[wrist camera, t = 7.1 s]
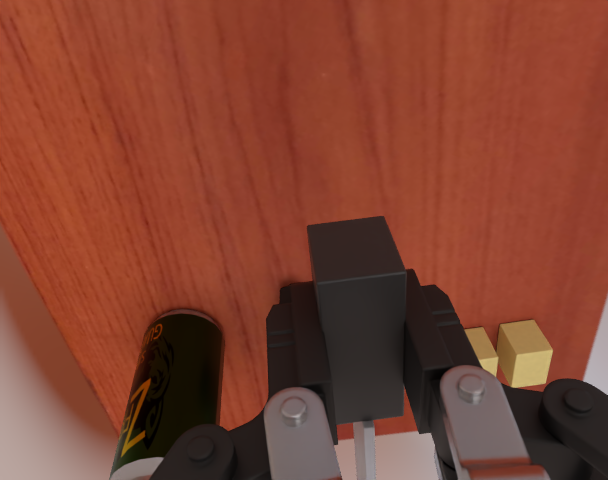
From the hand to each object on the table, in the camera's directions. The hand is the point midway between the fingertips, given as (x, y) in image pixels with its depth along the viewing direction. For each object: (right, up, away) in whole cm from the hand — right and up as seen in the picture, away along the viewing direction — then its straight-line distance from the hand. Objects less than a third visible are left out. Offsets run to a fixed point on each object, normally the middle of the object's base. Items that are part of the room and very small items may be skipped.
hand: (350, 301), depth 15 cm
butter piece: (+14, -6, +24) cm, 29 cm away
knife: (0, -4, +3) cm, 4 cm away
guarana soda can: (-9, -5, +21) cm, 24 cm away
